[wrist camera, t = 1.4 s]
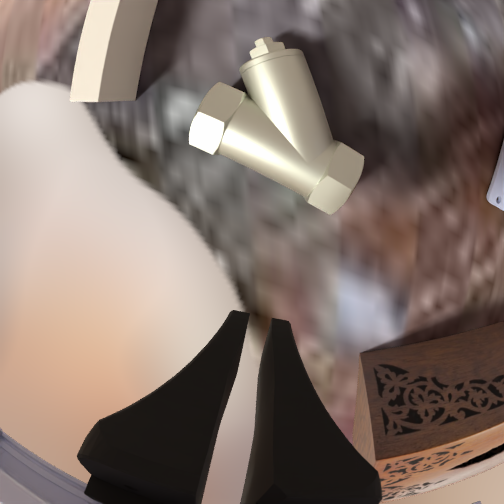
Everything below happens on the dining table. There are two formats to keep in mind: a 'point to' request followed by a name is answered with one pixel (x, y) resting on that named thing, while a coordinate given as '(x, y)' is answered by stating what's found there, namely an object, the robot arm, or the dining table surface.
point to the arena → (112, 50)
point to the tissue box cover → (432, 411)
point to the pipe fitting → (278, 128)
